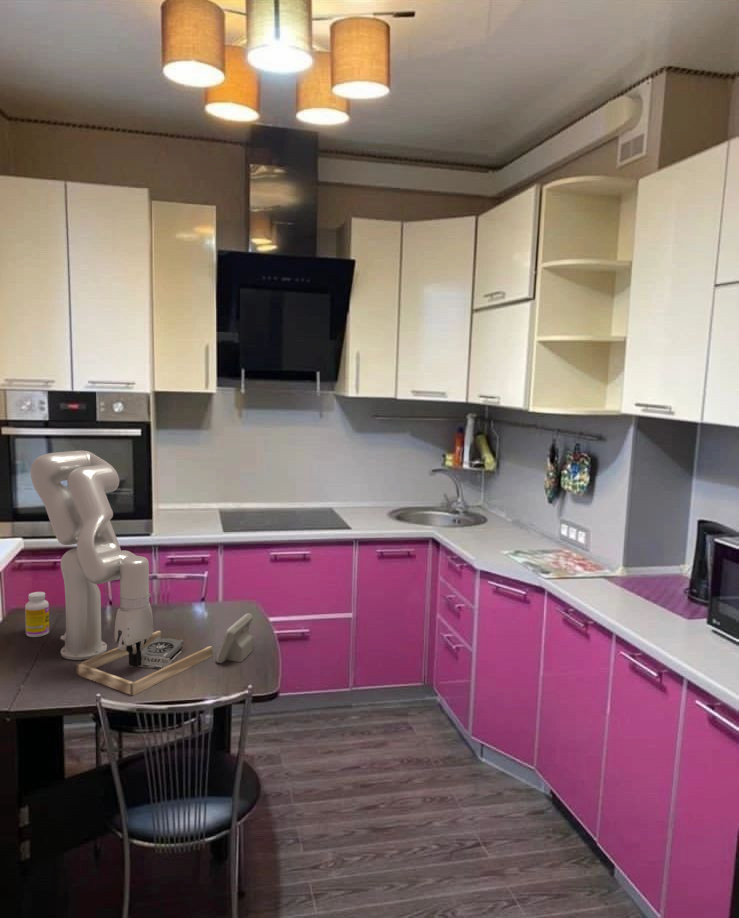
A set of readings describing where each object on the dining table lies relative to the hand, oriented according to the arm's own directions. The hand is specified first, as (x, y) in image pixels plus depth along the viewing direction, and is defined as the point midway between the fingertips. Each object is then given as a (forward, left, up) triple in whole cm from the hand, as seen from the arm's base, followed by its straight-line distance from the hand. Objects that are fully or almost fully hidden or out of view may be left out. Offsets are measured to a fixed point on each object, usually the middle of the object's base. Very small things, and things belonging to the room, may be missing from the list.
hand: (135, 665), depth 188 cm
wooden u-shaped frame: (0, +4, -2) cm, 5 cm away
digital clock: (+15, +24, -2) cm, 28 cm away
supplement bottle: (-45, +2, -2) cm, 45 cm away
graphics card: (-1, +11, -2) cm, 11 cm away
